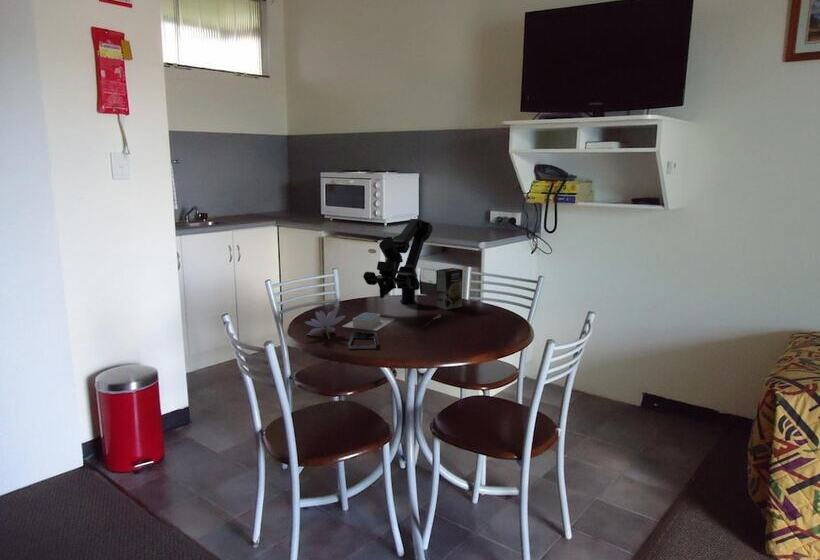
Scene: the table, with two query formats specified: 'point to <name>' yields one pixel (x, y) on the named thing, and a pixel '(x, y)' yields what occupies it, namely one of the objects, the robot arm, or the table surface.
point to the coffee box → (449, 288)
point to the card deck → (366, 320)
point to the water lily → (324, 322)
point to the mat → (376, 327)
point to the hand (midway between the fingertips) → (381, 297)
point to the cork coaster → (437, 316)
